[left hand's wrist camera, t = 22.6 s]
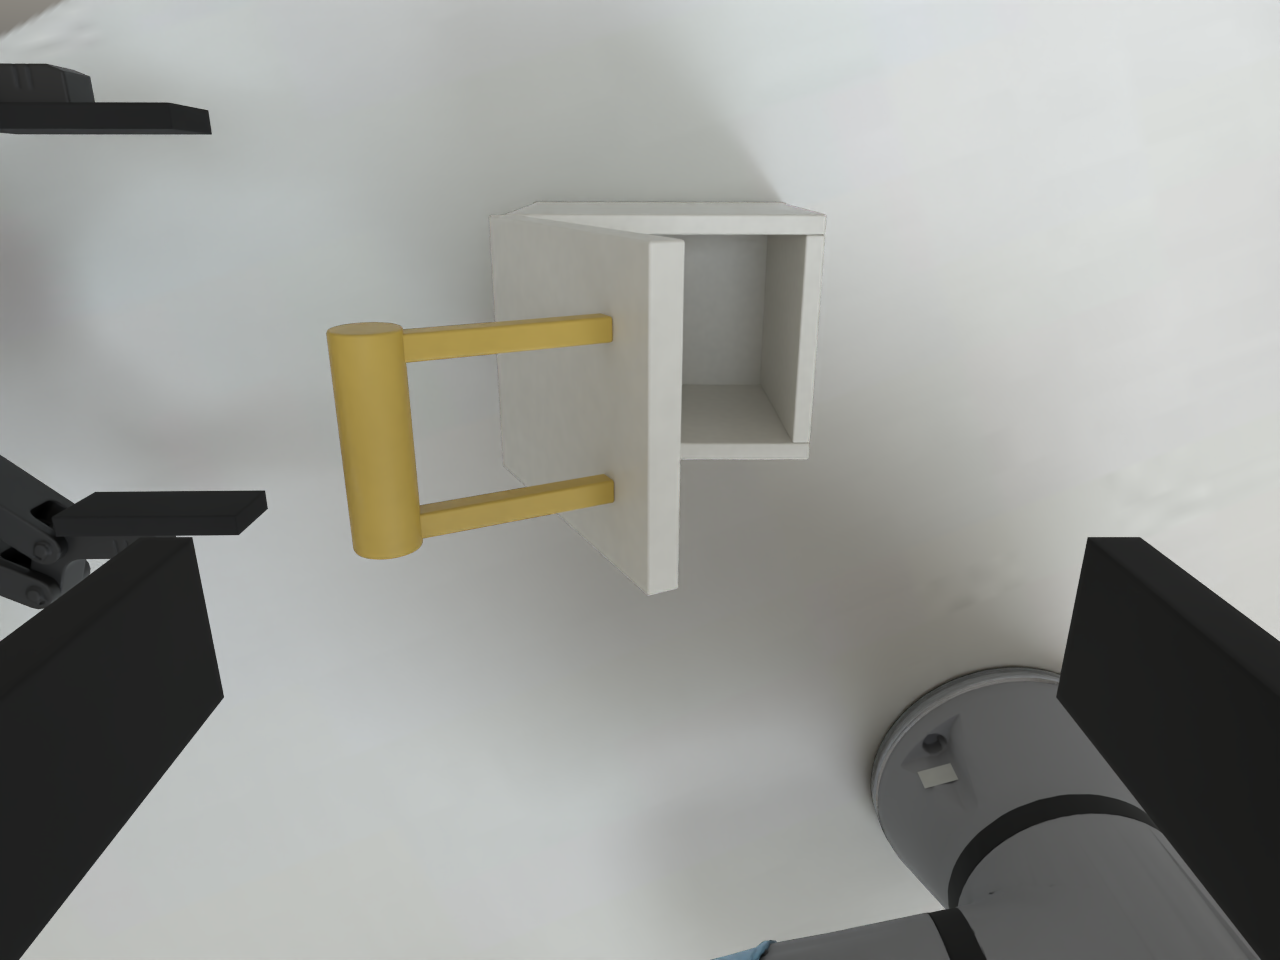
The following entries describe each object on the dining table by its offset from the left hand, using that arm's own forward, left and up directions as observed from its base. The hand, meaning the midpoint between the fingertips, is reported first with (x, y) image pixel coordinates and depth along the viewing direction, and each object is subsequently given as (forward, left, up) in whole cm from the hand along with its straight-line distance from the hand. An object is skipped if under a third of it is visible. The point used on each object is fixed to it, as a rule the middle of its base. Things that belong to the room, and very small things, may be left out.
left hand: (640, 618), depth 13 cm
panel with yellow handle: (+2, 0, -15) cm, 15 cm away
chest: (-1, 0, -32) cm, 32 cm away
